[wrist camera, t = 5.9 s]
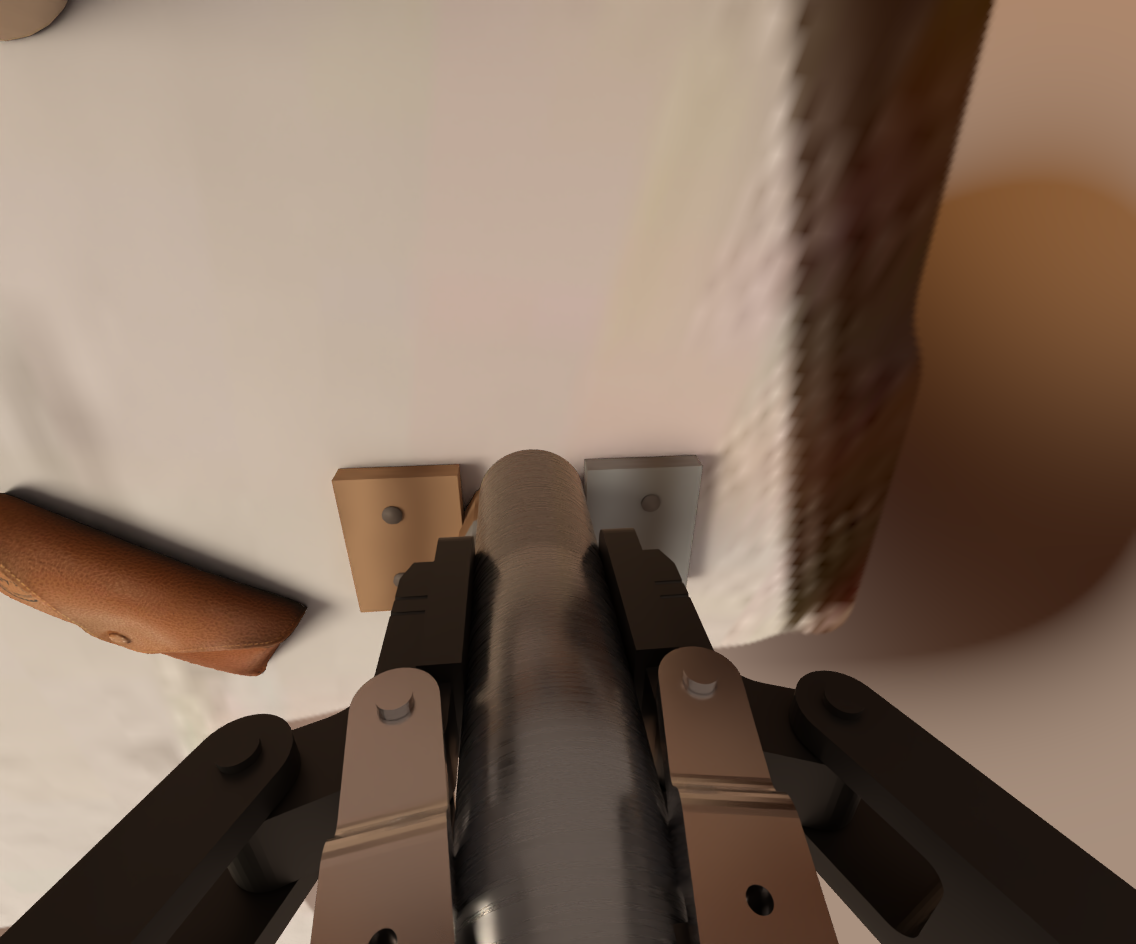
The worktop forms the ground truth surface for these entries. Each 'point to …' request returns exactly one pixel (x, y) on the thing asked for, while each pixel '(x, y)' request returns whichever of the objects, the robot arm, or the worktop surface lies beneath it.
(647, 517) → the hinge leaves
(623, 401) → the worktop surface
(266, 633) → the sunglasses case
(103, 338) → the worktop surface
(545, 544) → the hinge pin
